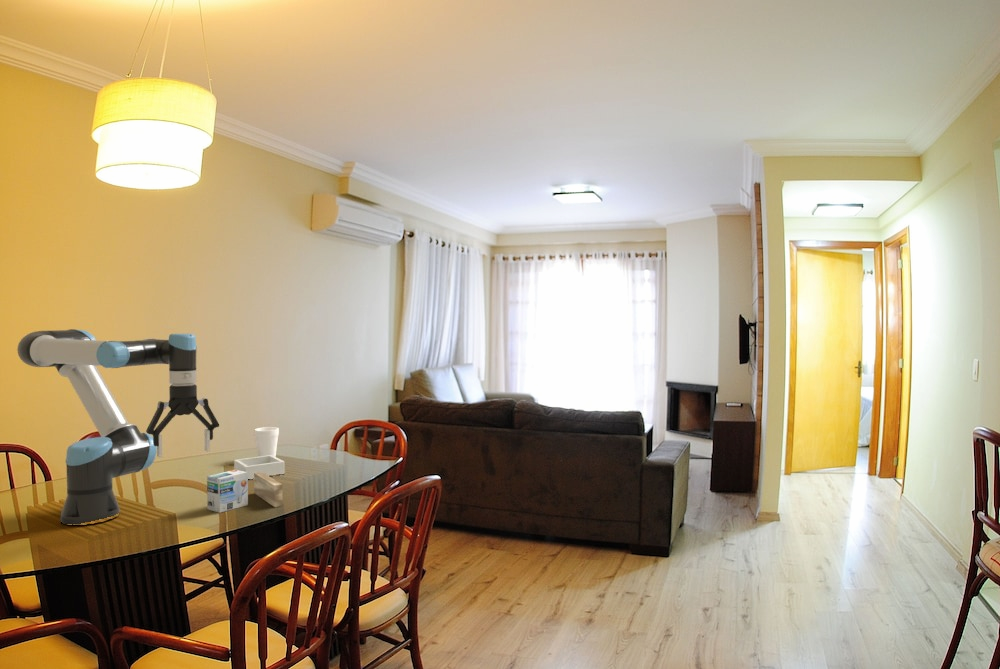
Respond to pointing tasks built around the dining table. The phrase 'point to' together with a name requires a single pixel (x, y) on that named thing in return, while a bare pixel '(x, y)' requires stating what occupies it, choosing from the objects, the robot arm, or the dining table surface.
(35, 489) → the dining table surface
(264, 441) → the foam cup
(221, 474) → the light bulb box
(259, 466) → the frame
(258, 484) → the board
